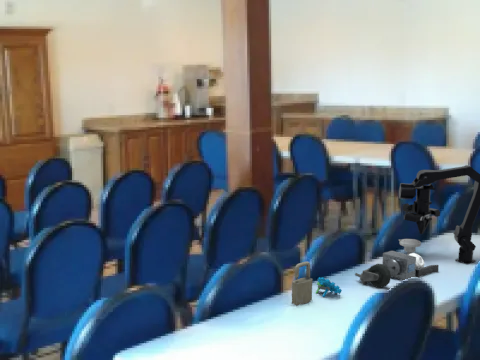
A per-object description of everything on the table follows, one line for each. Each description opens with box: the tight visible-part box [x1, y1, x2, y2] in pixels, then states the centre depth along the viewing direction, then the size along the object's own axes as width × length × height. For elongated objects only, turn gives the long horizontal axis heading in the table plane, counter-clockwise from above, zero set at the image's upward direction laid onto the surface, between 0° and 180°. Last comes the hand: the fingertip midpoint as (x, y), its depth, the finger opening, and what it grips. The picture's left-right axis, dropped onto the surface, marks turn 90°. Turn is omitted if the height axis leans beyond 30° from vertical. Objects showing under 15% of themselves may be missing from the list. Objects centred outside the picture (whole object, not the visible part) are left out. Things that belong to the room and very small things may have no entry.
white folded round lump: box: [409, 252, 425, 269], centre depth 288 cm, size 8×8×8 cm
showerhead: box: [398, 238, 422, 255], centre depth 312 cm, size 9×7×10 cm
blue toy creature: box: [315, 276, 343, 298], centre depth 258 cm, size 11×6×10 cm
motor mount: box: [382, 250, 439, 281], centre depth 285 cm, size 23×15×9 cm, turn 130°
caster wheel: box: [354, 263, 392, 289], centre depth 270 cm, size 6×10×15 cm
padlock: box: [291, 261, 313, 306], centre depth 251 cm, size 4×8×15 cm, turn 131°
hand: (421, 233), depth 302 cm, fingers closed
